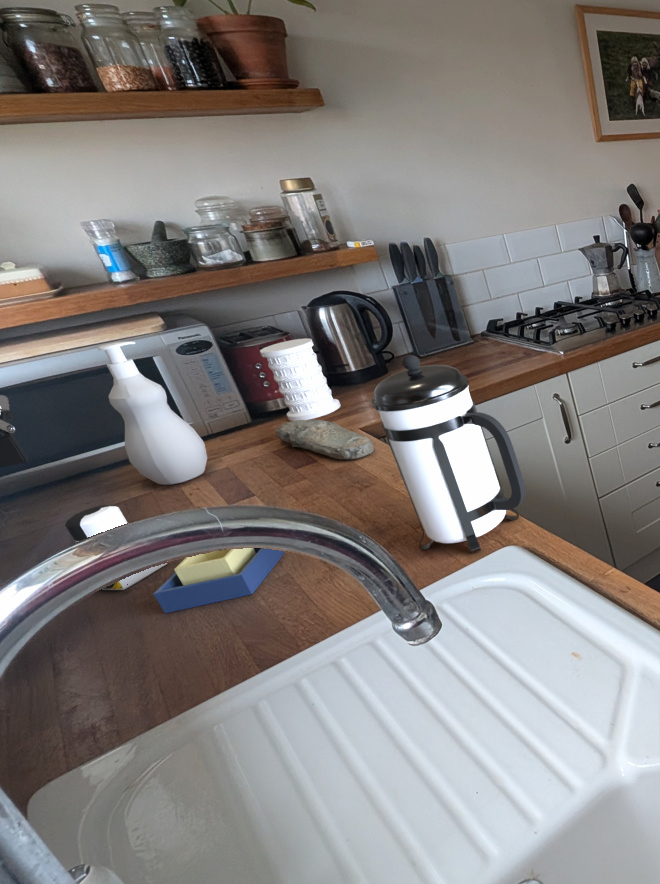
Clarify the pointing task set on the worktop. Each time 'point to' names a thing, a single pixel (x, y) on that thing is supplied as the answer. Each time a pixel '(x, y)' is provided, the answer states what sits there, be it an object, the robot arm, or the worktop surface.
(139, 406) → the soap bottle
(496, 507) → the coffee press
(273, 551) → the blue bin
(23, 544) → the worktop surface
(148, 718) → the worktop surface
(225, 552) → the cream bin
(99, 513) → the medicine bottle
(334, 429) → the elongated rock
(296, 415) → the decorative container
